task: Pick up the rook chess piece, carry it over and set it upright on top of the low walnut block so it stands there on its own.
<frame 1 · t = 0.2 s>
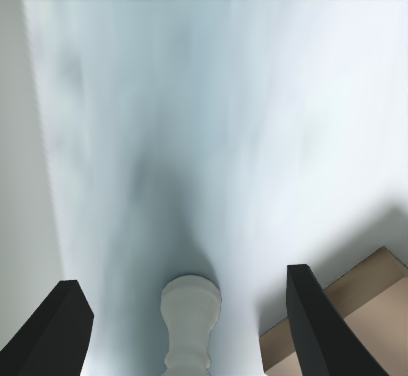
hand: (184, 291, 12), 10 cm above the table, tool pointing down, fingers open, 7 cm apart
rook chess piece: (191, 292, 26), on the table
walnut block: (366, 333, 28), on the table
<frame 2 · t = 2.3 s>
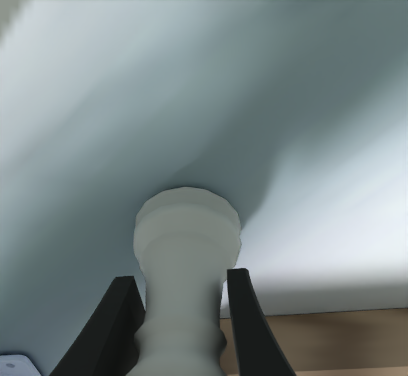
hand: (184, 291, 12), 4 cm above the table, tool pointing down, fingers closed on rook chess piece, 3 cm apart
rook chess piece: (188, 219, 15), on the table, touching gripper
walnut block: (311, 371, 22), on the table
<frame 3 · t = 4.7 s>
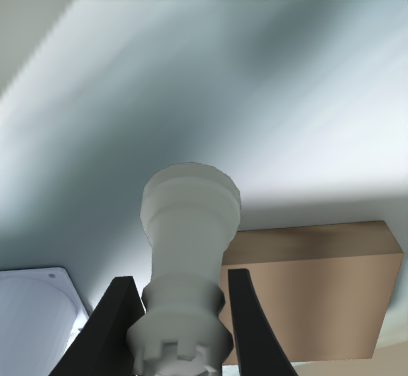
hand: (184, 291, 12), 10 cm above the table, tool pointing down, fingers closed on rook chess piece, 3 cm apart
rook chess piece: (192, 194, 16), point 5 cm above the table, touching gripper
walnut block: (291, 284, 28), on the table
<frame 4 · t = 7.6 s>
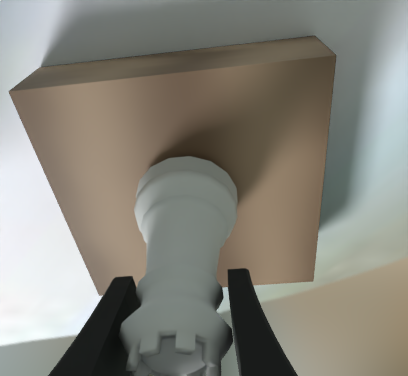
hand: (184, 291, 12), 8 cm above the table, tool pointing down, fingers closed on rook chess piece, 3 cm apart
rook chess piece: (187, 190, 16), point 3 cm above the table, touching gripper, walnut block
walnut block: (191, 169, 19), on the table
when the fingers open (7 cm above the table, at t = 8.0 s): rook chess piece stays where it is, resting on walnut block.
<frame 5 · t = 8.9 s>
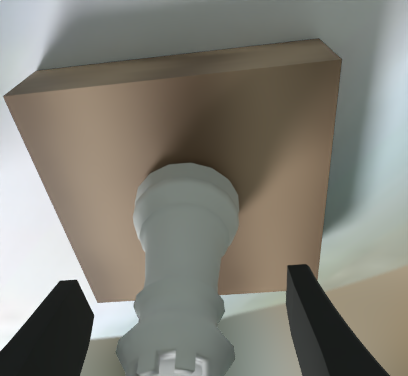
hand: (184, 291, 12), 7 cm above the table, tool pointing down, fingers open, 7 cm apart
rook chess piece: (187, 197, 16), point 3 cm above the table, touching walnut block
walnut block: (192, 174, 18), on the table
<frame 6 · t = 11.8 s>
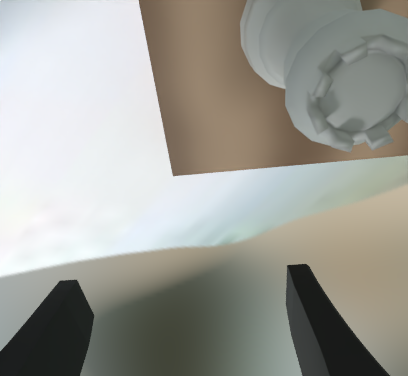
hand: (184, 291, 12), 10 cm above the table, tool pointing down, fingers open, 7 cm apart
rook chess piece: (293, 24, 14), point 3 cm above the table, touching walnut block
walnut block: (281, 26, 17), on the table
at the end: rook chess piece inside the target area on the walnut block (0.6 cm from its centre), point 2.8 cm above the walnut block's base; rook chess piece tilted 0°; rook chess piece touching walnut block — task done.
